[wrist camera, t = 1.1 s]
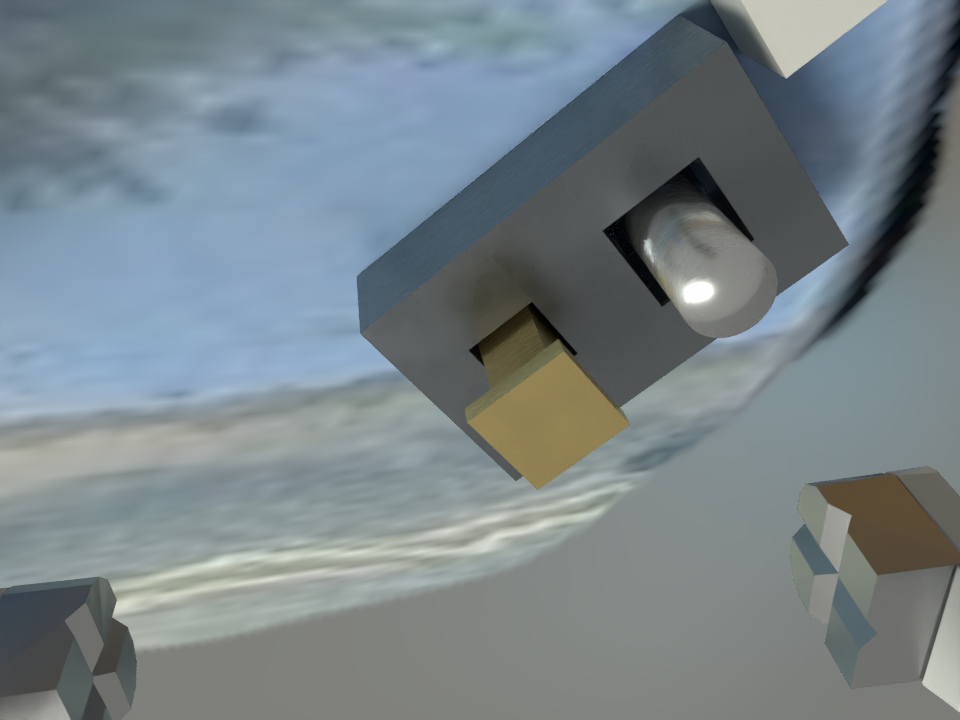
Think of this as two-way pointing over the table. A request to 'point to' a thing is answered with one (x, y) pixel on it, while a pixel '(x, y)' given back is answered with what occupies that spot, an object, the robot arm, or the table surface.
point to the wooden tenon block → (540, 401)
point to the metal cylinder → (701, 259)
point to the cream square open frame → (789, 27)
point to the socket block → (593, 228)
